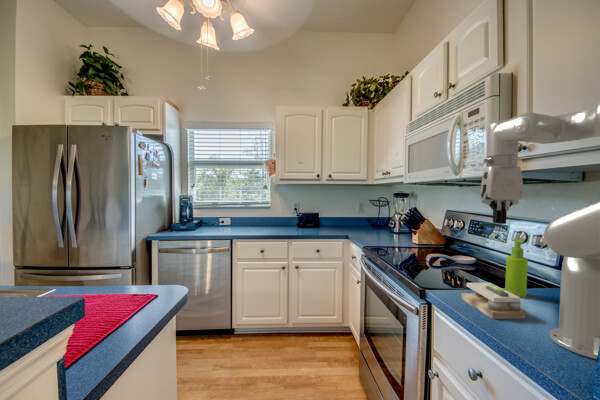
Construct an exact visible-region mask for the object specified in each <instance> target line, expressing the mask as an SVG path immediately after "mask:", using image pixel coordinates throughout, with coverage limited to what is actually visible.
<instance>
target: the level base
mask: <svg viewBox="0 0 600 400" xmlns="http://www.w3.org/2000/svg"><path fill="white" fill-rule="evenodd" d="M460 299H461V300H462V301H464V302H465V303H467V304H468V305H470V306H471V307H473V308H475V309H476V310H478V311H480V312H481V313H482V314H484V315H485V316H487V317H489V318H490V319H494V320H498V319H500V320H502V319H504V320H505V319H526V317H527V316H526V314H527V311H525V310H524V309H522V308H521V301H520V302H493V301H491V300H490V299H488V298H486V297H484V296H483V295H481V294H479V293H477V292H476V291H474V292H461V295H460Z"/></svg>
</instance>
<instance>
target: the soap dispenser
mask: <svg viewBox="0 0 600 400" xmlns="http://www.w3.org/2000/svg"><path fill="white" fill-rule="evenodd" d="M513 241H514V246H513V247H511V250H510V255H508V256H506V262H505V284H504V285H505V286H504V290H506V291H508V292H510V293H512V294H514V295H516V296H518V297H520V299H524V298H527V287H528V285H527V284H528V266H529V265H528V263H529V262H528V260H529V259H528V258H525V257H524V248H522V247H521V246H522V245H521V244H525V242H524V240H523V239H522V238H513Z"/></svg>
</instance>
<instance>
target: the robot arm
mask: <svg viewBox="0 0 600 400" xmlns="http://www.w3.org/2000/svg"><path fill="white" fill-rule="evenodd" d="M598 137H600V100H599V101H598V102H596V104H594V106H591V107H589V108H587V109H582V110H578V111H575V112H569V113H565V114H560V115H554V116H553V115H547V114H543V113H536V112H527V113H526V112H525V113H522V114H519V115H516V116H514V117H511V118H508V119H501V120H495V121H492V122H491V123H490V124H488V127H487V140H486V142H487V144H486V158H483V163H484V164H486V167H484V168H483V173H482V177H481V183H480V197H481V203H482V204H483V205H484V204H485V205H488V206H489V207H490V209H491V211H492V223H493V224H498V225H506V224H507V212H508V211H510V208H511V207H512V206H514V205H517V204H519V203H520V201H521V200H522V199H523V196H524V183H523V174H522V169H521V167H520V166H519V165H518V163H519V161H518V160H519V143H520V142H523V143H524V142H525V143H535V144H546V145H547V144H555V143H564V142H566V143H567V142H573V141H580V140H587V139H592V138H598ZM543 239H544V242H545V244H546V246H547V247H548V248H549V249H550V250H551V251H552V252H554V253H556V254H558V255H560V256H562V257H563V260H562V262H561V263H562V265H561V274H560V291H559V292H560V293H559V312H558V327H556V328H552V329H550V330H549V338H550V339H551V341H553V342H554V343H556V344H557V345H559V346H560V347H562V348H564V349H566V350H568V351H571V352H572V353H574V354H577V355H580V356H584V357H585V358H586V357H587V358H590V359H593V360H597V356H598V351H599V346H600V200H599V201H596V202H593V203H591V204H588V205H586V206H583V207H581V208H579V209H576V210H572V211H571V212H568V213H566V214H563V215H560V216H558V217H555V218H554V219H553V220H552V221H550V222H549V223H548V224H547V225H546V227H545V228H544V232H543Z"/></svg>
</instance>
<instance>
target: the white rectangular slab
mask: <svg viewBox="0 0 600 400" xmlns="http://www.w3.org/2000/svg"><path fill="white" fill-rule="evenodd" d="M466 287H467V288H469V289H471V290H472V291H474V292H475V291H476V292H477V293H479V294H481V295H483V296H484V297H486V298H488V299H490V300H491V301H493V302H520V303H521V298H520V297H518V296H516V295H514V294H512V293H510V292H508V291H506V290H505V288H502V287H500V286H497V285H496V284H493V283H491V282H466Z"/></svg>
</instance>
